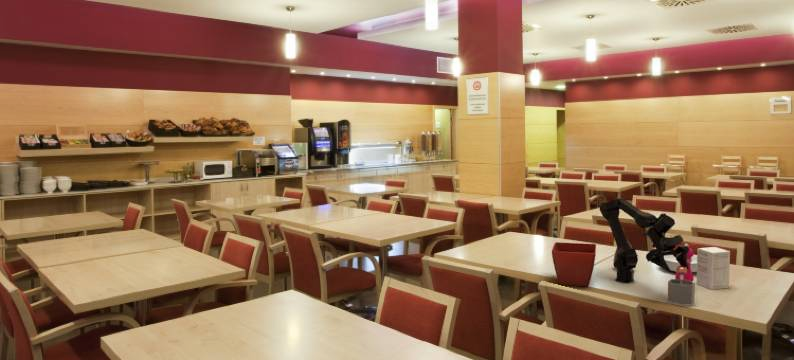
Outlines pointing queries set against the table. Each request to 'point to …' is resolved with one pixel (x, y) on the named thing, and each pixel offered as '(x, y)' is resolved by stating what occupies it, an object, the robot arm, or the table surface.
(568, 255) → the plant pot
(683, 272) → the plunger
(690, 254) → the pepper mill
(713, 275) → the supplement box
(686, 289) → the grey rounded cube
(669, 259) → the serving bowl
